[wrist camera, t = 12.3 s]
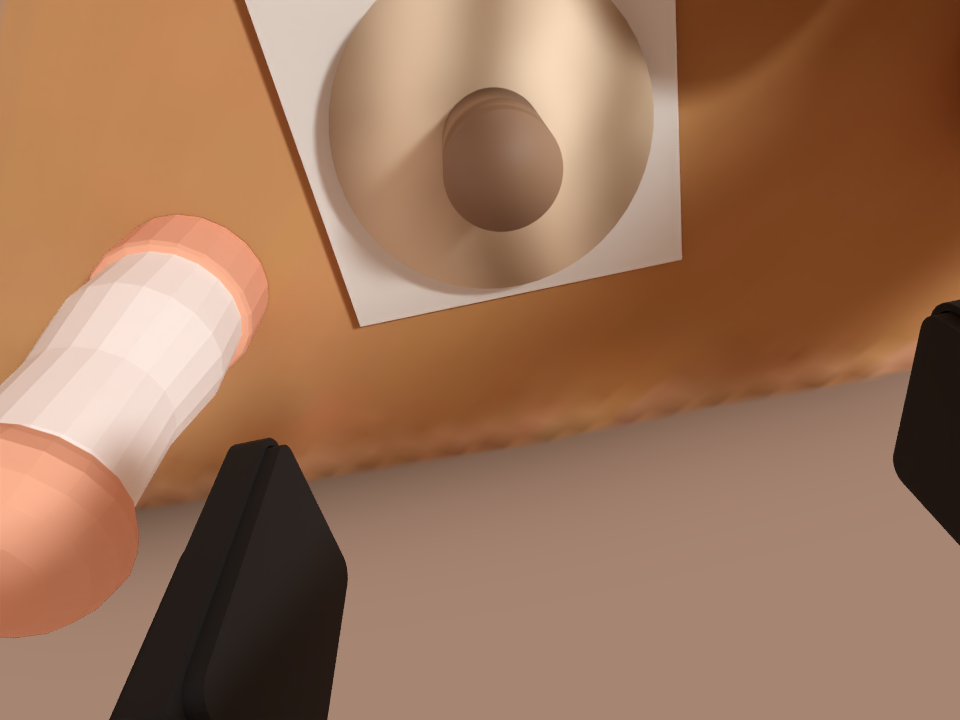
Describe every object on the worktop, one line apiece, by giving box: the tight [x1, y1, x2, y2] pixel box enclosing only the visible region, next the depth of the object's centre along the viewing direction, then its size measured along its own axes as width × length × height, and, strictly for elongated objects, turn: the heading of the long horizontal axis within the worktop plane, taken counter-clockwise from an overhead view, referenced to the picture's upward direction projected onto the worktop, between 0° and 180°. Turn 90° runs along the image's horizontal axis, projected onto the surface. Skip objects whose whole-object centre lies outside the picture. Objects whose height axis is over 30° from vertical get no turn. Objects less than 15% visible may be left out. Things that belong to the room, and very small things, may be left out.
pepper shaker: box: [0, 214, 268, 638], centre depth 23 cm, size 7×7×19 cm
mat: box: [245, 0, 682, 327], centre depth 28 cm, size 17×16×1 cm
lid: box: [329, 0, 654, 289], centre depth 25 cm, size 14×14×6 cm
